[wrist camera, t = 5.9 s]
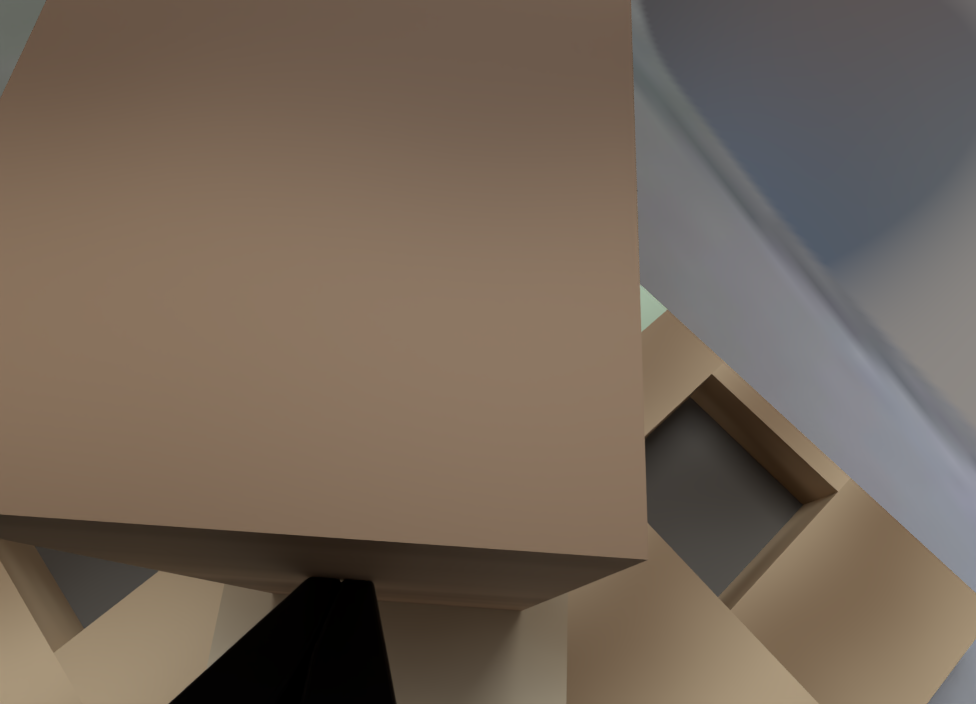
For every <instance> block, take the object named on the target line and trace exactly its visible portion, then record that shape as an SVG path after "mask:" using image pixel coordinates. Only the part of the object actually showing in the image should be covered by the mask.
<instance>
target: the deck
mask: <svg viewBox="0 0 976 704" xmlns="http://www.w3.org/2000/svg"><path fill="white" fill-rule="evenodd" d="M640 305H641V337H642V368H643V400H644V431H645V463H646V495H647V526H648V558H649V560H647V561H644V562H642V563H639V564H637V565H634V566H632V567H629V568H627V569H624V570H622V571H619V572H617V573H614V574H612V575H609V576H607V577H604V578H602V579H600V580H597V581H595V582H592V583H590V584H587V585H585V586H582V587H580V588H577V589H575V590H572V591H570V592H567V593H565V594H562V595H560V596H557V597H555V598H552V599H550V600H547V601H545V602H542V603H540V604H538V605H535V606H533V607H530V608H528V609H525V610H523V611H517V610H503V609H488V608H474V607H460V606H445V605H431V604H417V603H402V602H388V601H378V606H379V612H380V617H381V622H382V628H383V633H384V638H385V644H386V649H387V654H388V660H389V665H390V670H391V676H392V681H393V686H394V692H395V697H396V702H397V704H927V703H928V702H929V700H930V699H931V698H932V696H933V695H934V694H935V692H936V691H937V690H938V688H939V687H940V686H941V684H942V683H943V682H944V680H945V679H946V678H947V676H948V675H949V674H950V672H951V671H952V670H953V668H954V667H955V666H956V664H957V663H958V662H959V660H960V659H961V658H962V656H963V655H964V654H965V652H966V651H967V650H968V648H969V647H970V646H971V644H972V643H973V642H974V640H975V639H976V593H975V592H974V591H973V590H972V589H971V588H970V587H968V586H967V585H966V584H965V583H964V582H963V581H962V580H961V579H960V578H959V577H958V576H957V575H955V574H954V573H953V572H952V571H951V570H950V569H949V568H948V567H947V566H946V565H945V564H943V563H942V562H941V561H940V560H939V559H938V558H937V557H936V556H935V555H934V554H933V553H932V552H930V551H929V550H928V549H927V548H926V547H925V546H924V545H923V544H922V543H921V542H920V541H918V540H917V539H916V538H915V537H914V536H913V535H912V534H911V533H910V532H909V531H908V530H907V529H905V528H904V527H903V526H902V525H901V524H900V523H899V522H898V521H897V520H896V519H895V518H893V517H892V516H891V515H890V514H889V513H888V512H887V511H886V510H885V509H884V508H883V507H882V506H880V505H879V504H878V503H877V502H876V501H875V500H874V499H873V498H872V497H871V496H870V495H868V494H867V493H866V492H865V491H864V490H863V489H862V488H861V487H860V486H859V485H858V484H857V483H855V482H854V481H853V480H852V479H851V478H850V477H849V476H848V475H847V474H846V473H845V472H843V471H842V470H841V469H840V468H839V467H838V466H837V465H836V464H835V463H834V462H833V461H832V460H830V459H829V458H828V457H827V456H826V455H825V454H824V453H823V452H822V451H821V450H820V449H818V448H817V447H816V446H815V445H814V444H813V443H812V442H811V441H810V440H809V439H808V438H807V437H805V436H804V435H803V434H802V433H801V432H800V431H799V430H798V429H797V428H796V427H795V426H793V425H792V424H791V423H790V422H789V421H788V420H787V419H786V418H785V417H784V416H783V415H782V414H780V413H779V412H778V411H777V410H776V409H775V408H774V407H773V406H772V405H771V404H770V403H768V402H767V401H766V400H765V399H764V398H763V397H762V396H761V395H760V394H759V393H758V392H757V391H755V390H754V389H753V388H752V387H751V386H750V385H749V384H748V383H747V382H746V381H745V380H743V379H742V378H741V377H740V376H739V375H738V374H737V373H736V372H735V371H734V370H733V369H732V368H730V367H729V366H728V365H727V364H726V363H725V362H724V361H723V360H722V359H721V358H720V357H718V356H717V355H716V354H715V353H714V352H713V351H712V350H711V349H710V348H709V347H708V346H706V345H705V344H704V343H703V342H702V341H701V340H700V339H699V338H698V337H697V336H696V335H695V334H693V333H692V332H691V331H690V330H689V329H688V328H687V327H686V326H685V325H684V324H683V323H681V322H680V321H679V320H678V319H677V318H676V317H675V316H674V315H673V314H672V313H671V312H670V311H668V310H667V309H666V308H665V307H664V306H663V305H662V304H661V303H660V302H659V301H658V300H656V299H655V298H654V297H653V296H652V295H651V294H650V293H649V292H648V291H647V290H646V289H645V288H643V287H642V286H641V285H640ZM287 596H288V594H274V593H268V592H263V591H258V590H253V589H248V588H243V587H238V586H233V585H228V584H223V583H218V582H213V581H208V580H203V579H198V578H193V577H188V576H183V575H178V574H173V573H168V572H163V571H158V570H153V569H148V568H143V567H138V566H133V565H128V564H123V563H118V562H113V561H108V560H103V559H98V558H93V557H88V556H83V555H78V554H73V553H68V552H63V551H58V550H53V549H48V548H43V547H38V546H33V545H28V544H23V543H18V542H13V541H8V540H3V539H0V704H169V703H170V702H171V701H172V700H173V699H174V698H175V697H176V696H177V695H179V694H180V693H181V692H182V691H183V690H184V689H185V688H186V687H187V686H188V685H190V684H191V683H192V682H193V681H194V680H195V679H196V678H197V677H198V676H200V675H201V674H202V673H203V672H204V671H205V670H206V669H207V668H208V667H209V666H211V665H212V664H213V663H214V662H215V661H216V660H217V659H218V658H219V657H220V656H222V655H223V654H224V653H225V652H226V651H227V650H228V649H229V648H230V647H232V646H233V645H234V644H235V643H236V642H237V641H238V640H239V639H240V638H241V637H243V636H244V635H245V634H246V633H247V632H248V631H249V630H250V629H251V628H252V627H254V626H255V625H256V624H257V623H258V622H259V621H260V620H261V619H262V618H264V617H265V616H266V615H267V614H268V613H269V612H270V611H271V610H272V609H273V608H275V607H276V606H277V605H278V604H279V603H280V602H281V601H282V600H283V599H284V598H286V597H287Z"/></svg>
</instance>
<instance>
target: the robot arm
mask: <svg viewBox="0 0 976 704" xmlns="http://www.w3.org/2000/svg"><path fill="white" fill-rule="evenodd" d="M169 704H397V702H396V697H395V692H394V686H393V681H392V676H391V670H390V665H389V660H388V654H387V649H386V644H385V638H384V633H383V628H382V622H381V617H380V612H379V606H378V601H377V596H376V590H375V585H374V583H373V582H372V581H366V580H352V579H344V580H343V581H342V582H341V581H340V580H339V579H336V578H323V577H309V578H307V579H306V580H304V581H303V582H302V583H301V584H300V585H299V586H298V587H297V588H296V589H294V590H293V591H292V592H291V593H290V594H289V595H288V596H287V597H286V598H284V599H283V600H282V601H281V602H280V603H279V604H278V605H277V606H276V607H275V608H273V609H272V610H271V611H270V612H269V613H268V614H267V615H266V616H265V617H264V618H262V619H261V620H260V621H259V622H258V623H257V624H256V625H255V626H254V627H252V628H251V629H250V630H249V631H248V632H247V633H246V634H245V635H244V636H243V637H241V638H240V639H239V640H238V641H237V642H236V643H235V644H234V645H233V646H232V647H230V648H229V649H228V650H227V651H226V652H225V653H224V654H223V655H222V656H220V657H219V658H218V659H217V660H216V661H215V662H214V663H213V664H212V665H211V666H209V667H208V668H207V669H206V670H205V671H204V672H203V673H202V674H201V675H200V676H198V677H197V678H196V679H195V680H194V681H193V682H192V683H191V684H190V685H188V686H187V687H186V688H185V689H184V690H183V691H182V692H181V693H180V694H179V695H177V696H176V697H175V698H174V699H173V700H172V701H171V702H170V703H169Z"/></svg>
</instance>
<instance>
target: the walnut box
mask: <svg viewBox="0 0 976 704" xmlns="http://www.w3.org/2000/svg"><path fill="white" fill-rule="evenodd" d="M0 539H3V540H8V541H13V542H18V543H23V544H28V545H33V546H38V547H43V548H48V549H53V550H58V551H63V552H68V553H73V554H78V555H83V556H88V557H93V558H98V559H103V560H108V561H113V562H118V563H123V564H128V565H133V566H138V567H143V568H148V569H153V570H158V571H163V572H168V573H173V574H178V575H183V576H188V577H193V578H198V579H203V580H208V581H213V582H218V583H223V584H228V585H233V586H238V587H243V588H248V589H253V590H258V591H263V592H268V593H274V594H288V595H289V594H290V593H291V592H292V591H293V590H294V589H296V588H297V587H298V586H299V585H300V584H301V583H302V582H303V581H304V580H306V579H307V578H309V577H323V578H336V579H339V580H340V581H341V582H342V581H343V580H344V579H352V580H366V581H372V582H373V583H374V585H375V590H376V596H377V601H388V602H402V603H417V604H431V605H445V606H460V607H474V608H488V609H503V610H517V611H523V610H525V609H528V608H530V607H533V606H535V605H538V604H540V603H542V602H545V601H547V600H550V599H552V598H555V597H557V596H560V595H562V594H565V593H567V592H570V591H572V590H575V589H577V588H580V587H582V586H585V585H587V584H590V583H592V582H595V581H597V580H600V579H602V578H604V577H607V576H609V575H612V574H614V573H617V572H619V571H622V570H624V569H627V568H629V567H632V566H634V565H637V564H639V563H642V562H644V561H647V560H649V558H648V526H647V495H646V463H645V431H644V400H643V368H642V337H641V305H640V274H639V242H638V211H637V179H636V148H635V116H634V85H633V53H632V22H631V0H46V2H45V5H44V7H43V9H42V11H41V13H40V15H39V17H38V19H37V22H36V24H35V26H34V28H33V30H32V32H31V34H30V36H29V39H28V41H27V43H26V45H25V47H24V49H23V51H22V53H21V56H20V58H19V60H18V62H17V64H16V66H15V68H14V70H13V73H12V75H11V77H10V79H9V81H8V83H7V85H6V87H5V90H4V92H3V94H2V96H1V98H0Z"/></svg>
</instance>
